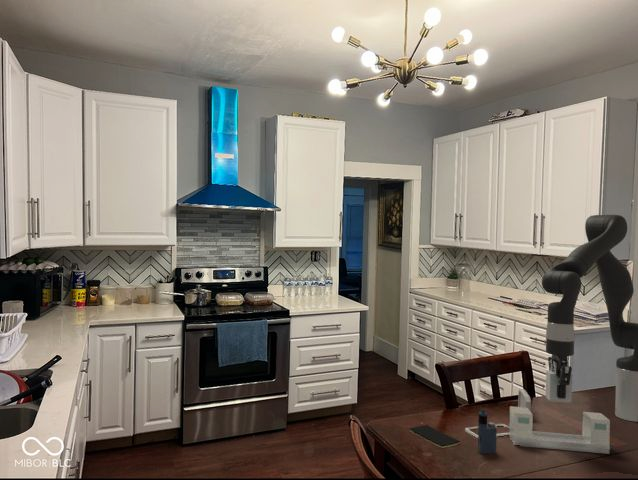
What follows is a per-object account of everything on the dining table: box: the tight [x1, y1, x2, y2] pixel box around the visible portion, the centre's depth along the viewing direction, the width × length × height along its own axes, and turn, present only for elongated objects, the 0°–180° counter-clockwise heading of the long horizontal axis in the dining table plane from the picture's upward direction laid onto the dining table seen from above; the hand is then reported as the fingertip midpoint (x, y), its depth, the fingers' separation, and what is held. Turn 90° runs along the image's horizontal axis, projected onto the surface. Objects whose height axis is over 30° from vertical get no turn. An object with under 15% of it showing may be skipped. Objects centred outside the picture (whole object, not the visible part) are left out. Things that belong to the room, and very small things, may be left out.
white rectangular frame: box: [464, 423, 510, 439], centre depth 154 cm, size 7×1×15 cm
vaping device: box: [477, 408, 498, 455], centre depth 139 cm, size 3×5×12 cm, turn 95°
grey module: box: [545, 370, 573, 404], centre depth 146 cm, size 6×4×8 cm
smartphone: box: [409, 424, 461, 449], centre depth 149 cm, size 7×1×15 cm
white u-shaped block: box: [508, 405, 611, 455], centre depth 146 cm, size 26×7×10 cm, turn 81°
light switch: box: [517, 388, 532, 413], centre depth 172 cm, size 2×12×8 cm, turn 169°
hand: (558, 395), depth 146 cm, fingers closed on grey module, 4 cm apart
